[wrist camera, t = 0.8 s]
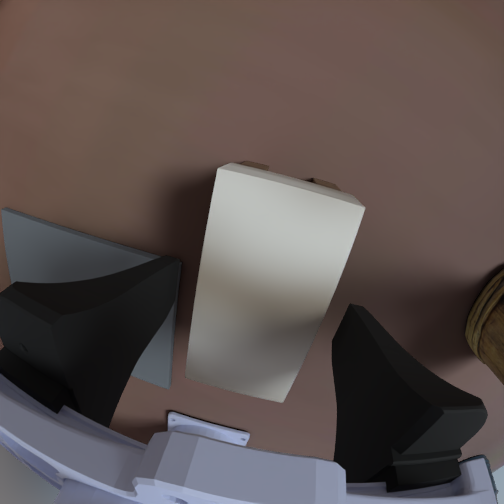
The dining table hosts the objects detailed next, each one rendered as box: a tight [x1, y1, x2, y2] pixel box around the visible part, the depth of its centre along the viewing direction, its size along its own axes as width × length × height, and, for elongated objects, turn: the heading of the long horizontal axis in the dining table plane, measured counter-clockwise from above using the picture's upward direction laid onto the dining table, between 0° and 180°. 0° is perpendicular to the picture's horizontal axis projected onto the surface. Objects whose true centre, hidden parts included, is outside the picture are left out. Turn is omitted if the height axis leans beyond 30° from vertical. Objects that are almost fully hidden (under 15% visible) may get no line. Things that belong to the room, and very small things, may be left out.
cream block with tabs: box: [185, 161, 365, 403], centre depth 14 cm, size 10×5×6 cm, turn 167°
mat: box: [1, 208, 182, 389], centre depth 20 cm, size 18×12×1 cm, turn 77°
